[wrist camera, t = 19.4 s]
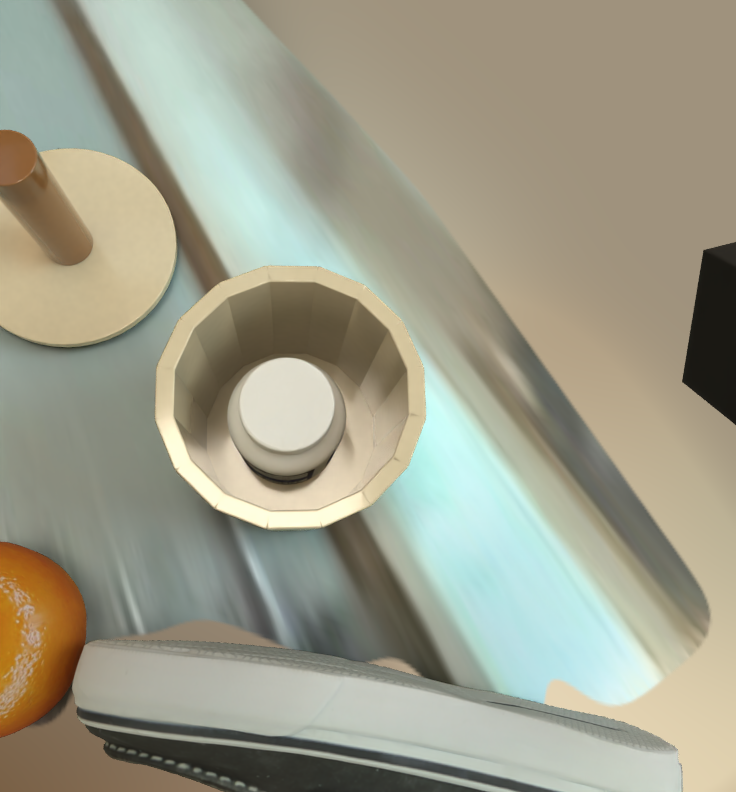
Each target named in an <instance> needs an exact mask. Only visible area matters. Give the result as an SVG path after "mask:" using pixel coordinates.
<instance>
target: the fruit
mask: <svg viewBox="0 0 736 792" xmlns="http://www.w3.org/2000/svg"><path fill="white" fill-rule="evenodd" d="M85 640H86V609H85V604H84V601H83V598H82V595H81V594H80V592H79V589H78V587H77V586H76V584H75V583H74V581H73V580H72V579H71V577H70V576H69V575H68V574H67V573H66V572H65V571H64V570H63V569H62V568H61V567H60V566H59V565H58V564H56V563H55V562H53V561H52V560H51V559H49V558H47V557H46V556H44V555H42V554H40V553H38V552H35V551H33V550H30V549H28V548H25V547H22V546H19V545H16V544H12V543H8V542H0V738H1V737H4V736H7V735H10V734H12V733H15V732H17V731H19V730H21V729H23V728H25V727H27V726H29V725H31V724H32V723H34V722H36V721H37V720H39V719H40V718H42V717H43V716H44V715H45V714H47V713H48V712H49V711H50V710H51V709H52V708H53V707H54V706H55V705H56V704H57V703H58V702H59V701H60V700H61V699H62V698H63V696H64V695H65V693H66V692H67V690H68V688H69V687H70V685H71V683H72V681H73V679H74V675H75V672H76V668H77V665H78V662H79V659H80V656H81V654H82V651H83V648H84V645H85Z"/></svg>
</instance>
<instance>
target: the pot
mask: <svg viewBox="0 0 736 792" xmlns="http://www.w3.org/2000/svg"><path fill="white" fill-rule="evenodd" d="M401 321H402V320H401V319H400V318H399V317H398V316H397V315H396V314H395V313H394V312H393V311H392V310H391V309H390V308H389V307H388V306H386V305H385V304H384V303H383V302H382V301H381V300H380V299H379V298H378V297H377V296H376V295H375V294H374V293H373V292H372V291H371V290H370V289H369V288H367V287H365V285H363V284H361V283H358V282H356V281H354V280H351V279H349V278H346V277H344V276H341V275H339V274H336V273H334V272H331V271H329V270H326V269H324V268H322V267H316V266H263V267H261V268H258V269H255V270H253V271H250V272H247V273H244V274H242V275H239V276H236V277H234V278H231V279H228V280H226V281H223V282H220V283H218V285H216V286H215V287H213V288H212V289H211V290H210V291H209V292H208V293H207V294H206V295H205V296H204V297H202V298H201V299H200V300H199V301H198V302H197V303H196V304H195V305H194V306H193V307H191V308H190V309H189V310H188V311H187V312H186V313H185V314H184V315H183V316H182V317H180V319H179V320H178V321H177V324H176V326H175V328H174V330H173V332H172V334H171V336H170V338H169V341H168V343H167V345H166V347H165V349H164V351H163V353H162V356H161V358H160V360H159V362H158V364H157V367H156V391H155V422H156V425H157V427H158V430H159V432H160V435H161V437H162V440H163V442H164V445H165V447H166V450H167V452H168V455H169V457H170V460H171V462H172V465H173V467H174V469H175V470H176V472H177V473H178V474H179V475H180V476H181V477H182V478H183V479H184V480H185V481H186V482H187V483H188V484H189V485H190V486H191V487H192V488H193V489H194V490H195V491H196V492H197V493H198V494H199V495H200V496H201V497H202V498H203V499H204V500H205V501H206V502H207V503H208V504H209V505H210V506H211V507H212V508H215V509H216V510H217V511H220V512H222V513H225V514H228V515H230V516H233V517H235V518H238V519H240V520H243V521H245V522H248V523H251V524H253V525H256V526H258V527H261V528H263V529H266V530H270V531H302V530H314V529H318V528H323V527H325V526H328V525H330V524H332V523H334V522H337V521H339V520H341V519H343V518H346V517H348V516H350V515H352V514H354V513H357V512H359V511H361V510H363V509H366V508H368V507H370V506H371V505H373V504H374V503H375V502H376V501H377V499H378V498H379V497H380V496H381V495H382V494H383V493H384V492H385V491H386V490H387V489H388V488H389V487H390V486H391V484H392V483H393V482H394V481H395V480H396V479H397V478H398V477H399V476H400V475H401V474H402V473H403V472H404V471H405V469H406V468H407V466H409V463H410V460H411V458H412V455H413V452H414V450H415V447H416V444H417V441H418V439H419V436H420V433H421V431H422V428H423V425H424V422H425V420H426V402H425V379H424V367H423V364H422V362H421V360H420V357H419V355H418V353H417V351H416V349H415V347H414V344H413V342H412V340H411V338H410V336H409V334H408V331H407V329H406V327H405V325H404V323H403V322H401ZM277 358H296V359H301V360H305V361H307V362H310V363H312V364H314V365H316V366H318V367H320V368H321V369H322V370H324V371H325V372H326V373H327V374H328V375H329V376H330V377H331V378H332V379H333V380H334V382H335V383H336V384H337V386H338V388H339V389H340V391H341V394H342V396H343V399H344V403H345V408H346V424H345V431H344V435H343V437H342V439H341V442H340V444H339V446H338V447H337V449H336V451H335V453H334V455H333V457H332V459H331V460H330V462H329V463H328V464H327V465H326V467H325V468H324V469H323V470H322V471H321V472H320V473H318V474H317V475H316V476H314V477H312V478H311V479H309V480H307V481H304V482H301V483H297V484H290V485H284V484H277V483H273V482H270V481H267V480H265V479H263V478H261V477H260V476H258V475H257V474H256V473H254V472H253V471H252V470H251V469H250V468H249V466H248V465H247V464H246V463H245V461H244V459H243V458H242V456H241V455H240V453H239V452H238V450H237V448H236V447H235V445H234V443H233V441H232V439H231V436H230V433H229V429H228V422H227V410H228V404H229V400H230V397H231V395H232V392H233V390H234V389H235V387H236V385H237V384H238V382H239V381H240V380H241V379H242V378H243V376H244V375H245V374H246V373H247V372H249V371H250V370H251V369H253V368H254V367H256V366H257V365H259V364H261V363H263V362H266V361H269V360H272V359H277Z"/></svg>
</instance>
